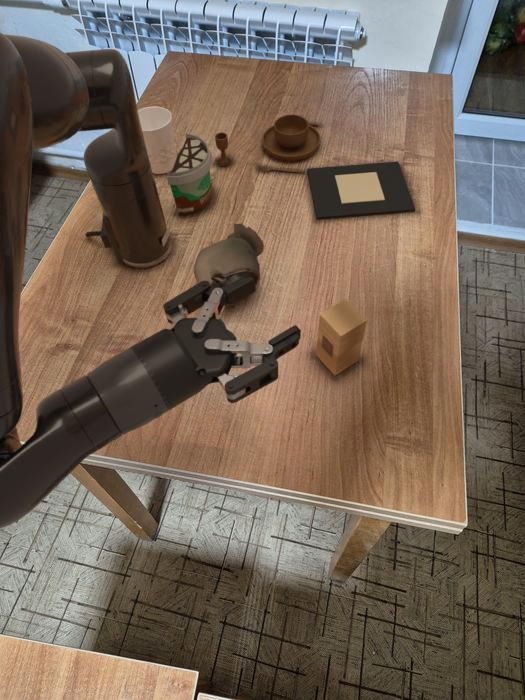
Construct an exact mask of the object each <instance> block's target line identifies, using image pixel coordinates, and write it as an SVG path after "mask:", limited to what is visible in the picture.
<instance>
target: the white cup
mask: <svg viewBox="0 0 525 700" xmlns="http://www.w3.org/2000/svg"><path fill="white" fill-rule="evenodd" d="M137 110H138V114H139V119H140V124H141V128H142V132H143V136H144V140H145V144H146V148H147V152H148V156H149V160H150V164H151V168H152V172H153V174H154V175H155V174H156V175H161V174H162V175H163V174H167V173H171V171H172V169H173V167H174V164H175V162H176V159H177V156H178V152H177V142H176V135H175V134H176V133H175V129H174V128H175V127H174V122H173V121H174V120H173V116H172V115H173V114H172V113H171V111H170V110H169V109H167V108H165V107H162V106H156V105H153V106H146V107H143V108H142V107H141V108H139V109H137Z"/></svg>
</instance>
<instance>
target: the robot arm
mask: <svg viewBox="0 0 525 700" xmlns="http://www.w3.org/2000/svg"><path fill="white" fill-rule="evenodd" d="M138 110H139V109H138V106H137V100H136V95H135V89H134V85H133V80H132V75H131V72H130V69H129V66H128V63H127V61H126V59H125V57H124V56H123V54H122V53H121V52H120V51H119V50H117V49H115V48H102V49H93V50H92V49H91V50H80V51H78V50H77V51H67V52H64V51H62V50H61V49H60V48H59V47H57V46H56V45H52V44H50V43H48V42H46V41H43V40H40V39H37V38H32V37H27V36H23V35H13V34H4V33H2V32H1V31H0V530H1V529H3V528H7V527H9V526H11V525H13V524H15V523H17V522H18V521H20V520H21V519H22V518H25V516H27V515H28V514H30V513H32V511H33V510H34V509H36V508H37V506H39V505H40V504H41V503H42V502H43V501H44V500H45V499H46V497H48V496H49V495H50V494H51V493H52V492H53V491H54V490H56V488H57V487H58V486H59V485H60V484H61V483H62V482H63V481H64V480H65V479H66V478H67V477H68V476H69V475H71V473H72V472H73V471H74V470H76V468H77V467H79V465H80V464H81V463H82V462H83V461H84V460H85V459H86V458H88V457H89V456H90V455H93V454H95V453H96V452H98V451H100V450H102V449H103V448H105V447H106V446H108V445H109V444H111V443H113V442H114V441H116V440H118V439H119V438H121V437H122V436H125V435H126V434H128V433H131V432H133V431H135V430H137V429H140V428H142V427H144V426H146V425H148V424H149V423H152V422H153V421H154V420H156V419H158V418H160V417H162V416H163V415H164V414H166V413H167V412H169V411H171V410H173V409H174V408H176V407H178V406H179V405H182V404H183V403H184V402H186V401H188V400H189V399H191V398H193V397H194V396H196V395H197V394H199V393H201V392H202V391H203V389H205V388H206V387H207V386H208V385H211V384H215V383H219V385H220V387H221V388H222V389H223V391H224V393H225V396H226V400H227V402H228V403H230V404H236V403H237V402H239V401H240V400H241V401H242V400H243V399H245V398H247V397H248V396H250V395H252V394H254V393H256V392H257V391H259V390H261V389H263V388H265V387H266V386H268V385H271V384H272V383H274V382H276V381H277V380H278V379H279V362H278V359H280V358H281V357H283V356H284V355H286V354H288V353H289V352H291V351H292V350H294V349H296V348H297V347H298V346H299V344H300V340H301V337H302V333H301V332H302V330H301V329H300V327H298V325H296V324H294V325H292V326H291V327H289V328H287V329H285V330H284V331H282V332H280V333H279V334H277V335H275V336H274V337H272V338H271V339H269V340H268V342H267V343H252V342H250V341H249V340H237V336H236V334H234V333H233V332H232V331H231V330H229V329H227V326H226V323H225V322H224V321H223V320H222V319H221V316H222V314H223V311H224V310H225V308H226V305H227V306H228V307H231V306H233V305H235V304H237V303H238V302H241V301H242V300H243V299H245V298H247V297H249V296H251V295H252V294H254V293H255V292H256V289H257V288H256V286H255V281H254V280H253V278H252V277H247V278H245V277H244V278H240V279H238V280H236V281H234V282H233V283H231V284H229V285H227V286H225V287H223V288H214V287H213V286H211V285H210V283H209V282H208V281H201V282H200V283H196V284H194V286H191V287H189V288H188V289H186V290H184V291H183V292H181V293H180V294H178V295H176V296H174V297H172V298H171V299H170V300H167V301H166V302H164V303H163V306H162V307H163V312H164V315H165V318H166V320H167V323H169V324H173V327H172V328H170V329H168V328H163V329H161V330H159V331H157V332H155V333H154V334H152V335H150V336H148V337H146V338H144V339H143V340H141V341H139V342H137V343H135V344H134V345H132V346H130V347H128V348H126V349H124V350H123V351H121V352H119V353H117V354H115V355H114V356H112V357H109V358H108V359H107V360H105V361H103V362H102V363H100V365H98V366H96V367H95V368H94V369H92V370H91V371H89V372H88V373H86V374H84V375H82V376H80V377H79V378H77V379H75V380H74V381H71V382H70V383H67V385H65V386H63V387H61V388H59V389H57V390H55V391H54V392H52V393H50V394H48V395H47V396H45V397H44V398H43V399H42V400H41V401H39V403H38V404H37V407H36V411H35V418H36V419H35V421H36V424H35V425H36V426H35V430H34V432H33V433H32V435H31V436H30V437H29V438H28V439H26V440H25V442H24V443H23V444H22V443H21V440H20V439H21V438H20V436H19V433H18V427H17V426H18V424H19V423H20V420H21V418H22V415H23V408H24V395H23V394H24V393H23V391H24V390H23V380H22V367H21V353H20V333H19V330H20V328H19V327H20V309H21V299H22V298H21V296H22V286H23V277H24V268H25V260H26V259H25V257H26V248H27V237H28V225H29V224H28V222H29V210H30V209H29V208H30V196H31V184H32V170H33V169H32V168H33V156H34V155H33V154H34V150H41V149H46V148H49V147H50V148H51V147H52V146H55V145H58V144H62V143H64V142H66V141H68V140H70V139H71V138H72V137H74V136H75V135H77V133H78V132H91V131H103V130H108V131H107V132H105V133H103V134H101V135H99V136H97V137H96V138H94V139H93V140H92V141H91V142H90V143H88V145H87V147H86V148H85V149H84V153H83V164H84V166H85V169H86V172H87V174H88V177H89V180H90V182H91V185H92V188H93V190H94V193H95V195H96V198H97V200H98V203H99V205H100V209H101V211H102V218H101V229H100V230H98V231H97V230H96V231H87V232H86V233H85V237H86V238H90V237H99V236H100V238H101V240H102V243H103V245H104V248H105V249H109V248H110V249H111V248H112V251H113V253H114V257H115V260H116V262H117V263H118V264H125V265H126V266H128V267H131V268H134V269H149V268H151V267H155V266H157V265H159V264H161V263H162V262H164V261H165V260H166V259H167V258H168V257H169V255H170V254H171V252H172V247H173V243H172V240H171V236H170V235H171V231H170V229H169V227H168V226H167V223H166V218H165V215H164V210H163V206H162V203H161V200H160V196H159V192H158V191H159V190H158V188H157V183H156V180H155V177H154V173H153V172H152V168H151V164H150V160H149V156H148V152H147V148H146V144H145V140H144V136H143V132H142V128H141V124H140V119H139V114H138ZM200 308H201V310H200V311H199V314H198V316H197V317H189V315H191V314H192V313H194V312H196V311H197V310H199V309H200ZM238 354H239V355H240V356H238ZM250 368H251V369H250ZM232 369H249V370H247V371H245V372H243V373H241V374H238V373H234V374H232V375H230V374H229V373H230V372H231V370H232Z"/></svg>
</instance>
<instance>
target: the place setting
mask: <svg viewBox="0 0 525 700" xmlns="http://www.w3.org/2000/svg"><path fill="white" fill-rule="evenodd" d="M314 126H319V123H315V122H311V121H310V122H309V121H308V119H306V118H305V117H303V116H302V115H299V114H285V115H282V116H279V117H277V118H276V120H275V121H274V122H273V125H270V126H269V127H268V128H267V129H266V130H265V131H264V132H263V134H262V136H261V142H262V147H263V149H264V150H265V152H266V153H267V154H268V155H270V156H271V157H273V158H275V159H278V160H281V161H287V162H288V161H289V162H290V161H301V160H304V159H306V158H308V157H311V156H313V155H314V153H316V152H317V150H318V149H319V148H320V144H321V134H320V132H319V131H318V130H317V128H316V127H314ZM214 142H215V146H216V148H217V150H218V151H220V158H218V159H217V160H216V163H217V165H218V166H219V167H224V168H225V167H228V166H230V165H231V163H232V159H231V158H229V157H227V154H226V150H227V149H228V147H229V138H228V133H226V132H222V131H220V132H217V133H215V135H214ZM254 168H256V169H257V170H259V171H262V172H271V171H278V172H286V173H295V174H304V173H305V171H303V170H295V169H288V168H287V169H286V168H277V167H276V168H275V167H269V166H264V165H262V164H258V163H255V167H254Z"/></svg>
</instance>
